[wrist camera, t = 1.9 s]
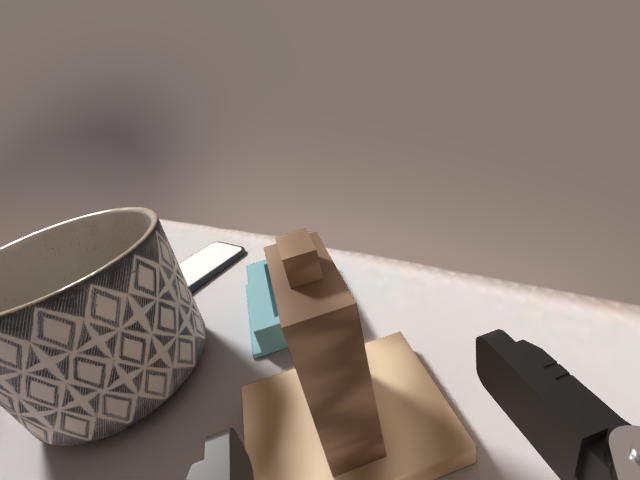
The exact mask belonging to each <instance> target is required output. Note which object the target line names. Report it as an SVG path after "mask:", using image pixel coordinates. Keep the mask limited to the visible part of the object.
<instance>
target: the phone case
mask: <svg viewBox="0 0 640 480" xmlns="http://www.w3.org/2000/svg"><path fill="white" fill-rule="evenodd" d="M245 254H246V252H245V249H244V247H241V246H236V245H232V244H228V243H223V242H214V243H212V244H210V245H208V246H207V247H205V248H204V249H202V250H200V251H199V252H197V253H195V254H194V255H192V256H191V257H189V258H187V259H186V260H184V261H183V262H181V263H179V266H180V269H181V271H182V273H183V275H184V278H185V280H186V282H187V285H188V287H189V289H190V291H191V294H192V293H193V292H195V291H196V290H198V289H199V288H200V287H202V286H203V285H204V284H206V283H207V282H208V281H210V280H211V279H213V278H214V277H215V276H217V275H218V274H219V273H221V272H222V271H224V270H225V269H226V268H228V267H229V266H230V265H232V264H233V263H234V262H236V261H237V260H238V259H240V258H241V257H243V256H244V255H245Z"/></svg>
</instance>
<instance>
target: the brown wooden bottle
mask: <svg viewBox="0 0 640 480" xmlns="http://www.w3.org/2000/svg"><path fill="white" fill-rule="evenodd" d="M275 239H276V242H277V244H274V245H271V246H267V247H264V251H265V256H266V260H267V265H268V269H269V274H270V278H271V283H272V288H273V292H274V297H275V301H276V306H277V310H278V315H279V320H280V324H281V328H282V331H283V334H284V337H285V340H286V343H287V346H288V349H289V352H290V354H291V357H292V360H293V363H294V366H295V369H296V372H297V375H298V378H299V381H300V383H301V386H302V389H303V392H304V395H305V398H306V401H307V404H308V407H309V410H310V412H311V415H312V418H313V421H314V424H315V427H316V430H317V433H318V436H319V438H320V441H321V444H322V447H323V450H324V453H325V456H326V459H327V462H328V465H329V467H330V470H331V473H332V476H333V477H336V476H338V475H341V474H343V473H346V472H348V471H351V470H354V469H356V468H359V467H361V466H364V465H366V464H369V463H372V462H374V461H377V460H379V459H382V458H384V457H387V455H386V450H385V445H384V440H383V435H382V430H381V425H380V420H379V415H378V410H377V405H376V400H375V395H374V390H373V385H372V380H371V375H370V370H369V365H368V360H367V354H366V349H365V344H364V339H363V334H362V329H361V324H360V319H359V314H358V309H357V304H356V302H355V300H354V298H353V296H352V295H351V293H350V291H349V289H348V287H347V286H346V284H345V282H344V280H343V278H342V277H341V275H340V273H339V271H338V270H337V268H336V266H335V264H334V262H333V261H332V259H331V257H330V255H329V254H328V252H327V250H326V248H325V246H324V245H323V243H322V241H321V239H320V237H319V236H318V234H317V232H314V233H310V234H308V232H307V230H306V228H305V229H301V230H298V231H294V232H291V233H288V234H284V235H281V236H278V237H275Z"/></svg>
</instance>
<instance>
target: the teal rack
mask: <svg viewBox="0 0 640 480" xmlns="http://www.w3.org/2000/svg"><path fill="white" fill-rule="evenodd" d="M246 268H247V277H248V284H247V285H246V293H247V303H248V313H249V323H250V334H251V344H252V354H253V357H254V359H256V358H259V357H262V356H265V355H268V354H271V353H274V352H276V351H279V350H282V349H285V348H288V346H287V343H286V340H285V337H284V334H283V331H282V328H281V324H280V320H279V315H278V310H277V306H276V301H275V297H274V292H273V288H272V283H271V278H270V274H269V269H268V265H267V260H263V261H260V262H256V263H253V264H250V265H247V266H246Z"/></svg>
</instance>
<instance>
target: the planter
mask: <svg viewBox="0 0 640 480" xmlns="http://www.w3.org/2000/svg"><path fill="white" fill-rule="evenodd" d="M205 341H206V328H205V324H204V321H203V319H202V316H201V314H200V312H199V310H198V307H197V305H196V303H195V300H194V298H193V296H192V294H191V291H190V289H189V287H188V285H187V282H186V280H185V278H184V275H183V273H182V271H181V269H180V266H179V264H178V262H177V260H176V257H175V255H174V253H173V250H172V248H171V246H170V244H169V241H168V239H167V237H166V235H165V232H164V230H163V228H162V225H161V223H160V221H159V219H158V216H157V215H156V213H155V212H154V211H152V210H150V209H147V208H143V207H125V208H117V209H110V210H106V211H100V212H96V213H92V214H88V215H84V216H81V217H77V218H74V219H71V220H68V221H65V222H62V223H59V224H56V225H54V226H51V227H48V228H45V229H43V230H40V231H37V232H35V233H33V234H30V235H28V236H25V237H23V238H21V239H18V240H16V241H14V242H12V243H9V244H7V245H5V246H3V247H1V248H0V405H1V406H2V407H3V408H4V409H5V410H6V411H7V412H8V413H9V414H11V415H12V416H13V417H14V418H15V419H16V420H17V421H18V422H19V423H20V424H21V425H23V426H24V427H25V428H26V429H27V430H28V431H29V432H30V433H31V434H32V435H33V436H35V437H36V438H37V439H39V440H40V441H42V442H45V443H47V444H51V445H57V446H74V445H81V444H86V443H90V442H93V441H97V440H100V439H103V438H106V437H108V436H111V435H113V434H115V433H117V432H119V431H122V430H124V429H125V428H127V427H129V426H131V425H133V424H134V423H136V422H138V421H139V420H141V419H142V418H144V417H146V416H147V415H148V414H150V413H151V412H153V411H154V410H155V409H156V408H158V407H159V406H160V405H161V404H163V403H164V402H165V401H166V400H167V399H168V398H169V397H170V396H172V395H173V394H174V393H175V392H176V391H177V390H178V388H179V387H180V386H181V385H182V384H183V383H184V382H185V380H186V379H187V378H188V377H189V375H190V374H191V372H192V371H193V369H194V368H195V366H196V365H197V363H198V361H199V359H200V357H201V355H202V352H203V349H204V346H205Z"/></svg>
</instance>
